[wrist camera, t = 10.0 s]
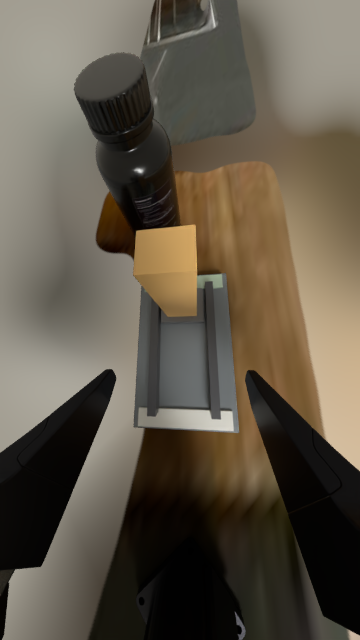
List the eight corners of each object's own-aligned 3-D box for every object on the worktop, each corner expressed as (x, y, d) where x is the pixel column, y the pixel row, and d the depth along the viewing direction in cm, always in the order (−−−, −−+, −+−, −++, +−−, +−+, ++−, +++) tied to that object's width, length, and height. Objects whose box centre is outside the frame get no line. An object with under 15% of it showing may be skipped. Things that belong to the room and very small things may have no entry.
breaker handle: (203, 322, 15) (213, 281, 6) (163, 324, 16) (118, 286, 7) (201, 291, 16) (209, 213, 7) (163, 293, 17) (124, 223, 7)
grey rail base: (234, 424, 14) (243, 440, 12) (139, 420, 15) (127, 434, 13) (223, 279, 18) (228, 267, 15) (146, 284, 19) (138, 273, 16)
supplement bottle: (127, 226, 21) (45, 77, 10) (166, 203, 21) (130, 28, 10) (148, 259, 20) (79, 127, 8) (190, 234, 20) (181, 67, 8)
